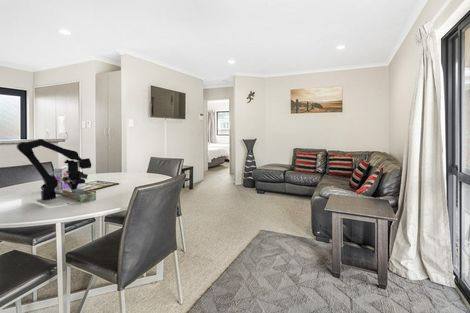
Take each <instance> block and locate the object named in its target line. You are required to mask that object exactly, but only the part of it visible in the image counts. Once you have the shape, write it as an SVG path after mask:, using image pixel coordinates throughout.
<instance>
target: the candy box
mask: <svg viewBox="0 0 470 313" xmlns="http://www.w3.org/2000/svg"><path fill="white" fill-rule="evenodd" d="M52 171H53V175H54V176H55V178H56V179H57V180H58V181H57V182H58V186H57V187H56V188H55V191H60V190H66V189H71V188H70V187H69V185H68V184H67V182H68V180H67V181H62V178H63V177H66V176H68V173H67V171H68V165H64V166H60V167H55V168H52Z"/></svg>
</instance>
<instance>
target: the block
mask: <svg viewBox="0 0 470 313" xmlns="http://www.w3.org/2000/svg"><path fill="white" fill-rule="evenodd" d="M78 188H79V189H73V190H71V192H72V193H76V194H79V195H85V193H84V191H85V190H84V189H83V188H80V187H78Z"/></svg>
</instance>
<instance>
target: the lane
mask: <svg viewBox="0 0 470 313" xmlns="http://www.w3.org/2000/svg"><path fill="white" fill-rule="evenodd" d="M79 188H80V187H77V189H79ZM61 190H62V195H63V196H65V197H69V198H72V199H75V200H76V201H77V202H78V203H86V202H91V201H96V200H97V196H96V195H97V191H96V190H95V189H85V190H83V191H84V195H79V194H76V193H72V191H69V190H66V189H61Z"/></svg>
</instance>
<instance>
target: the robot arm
mask: <svg viewBox="0 0 470 313" xmlns="http://www.w3.org/2000/svg"><path fill="white" fill-rule="evenodd" d="M38 147H43V148H46V149H49V150H51V151H53V152H56V153H59V154H60V155H62V156H64V157H65V158H67V159H65V160H64V162H63V163H64V164H67V166H68V171H67V173H68V176H66V177H63V178H62V181H67V180H68V182H67V184H68V185H69V187H70V188H69V189H70V190H71V191H72V190H73V189H77V188H78V186H79V185H81V184H86V180H88V177H89V174H87V173H84V172H83V171H80V170H79V168H80V169H82V170H84V169H91V168H92V162H91V159H90V158H82V157H80V155H79V153H78V151H76V150H71V149H67V148H64V147H62V146H59V145H56V144H54V143H51V142H49V141H47V140H45V139H43V138H38V139H36V140H35V139H34V140H31V141H27V142H26V141H20V142H17V144H16V150H18V151H19V152H20V153H21V154H22V155H23V156H25V157H26V158H27V159H28V161H29V162H30V164H32V166H33V167H34V168H35V170H36V171H37V173H38V174H39V175H40V176H41V179H42V182H43V184H42V185H41V186H40V189H41V191H40V197H41V198H40V199H41V200H42V201H47V200H54V199H57V193H56V190H55V188H56V187H57V186H58V182H57V181H58V180H57V179H56V178H55V176H54V173H53V174H49V172H48V171H47V170H46V169H45V167H44V165H43V164H42V163H41V162H40V160H39V159H38V157H37V156H36V155H35V153H34V150H33V149H35V148H38Z"/></svg>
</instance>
